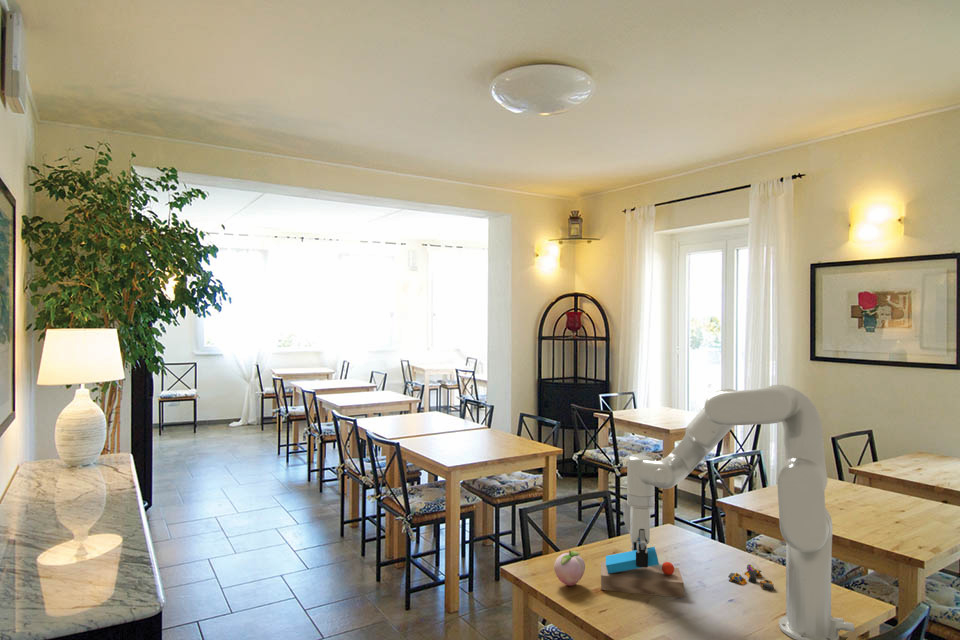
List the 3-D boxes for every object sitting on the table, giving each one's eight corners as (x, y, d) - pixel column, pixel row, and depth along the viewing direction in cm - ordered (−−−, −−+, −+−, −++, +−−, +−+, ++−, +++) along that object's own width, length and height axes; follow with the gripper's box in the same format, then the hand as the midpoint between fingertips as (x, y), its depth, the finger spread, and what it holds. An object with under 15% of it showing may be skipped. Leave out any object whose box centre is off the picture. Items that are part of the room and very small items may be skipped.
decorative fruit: (561, 576, 170) (562, 542, 170) (588, 582, 165) (588, 548, 166) (548, 588, 162) (549, 552, 162) (576, 595, 157) (576, 559, 157)
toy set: (755, 597, 159) (755, 579, 159) (723, 580, 169) (723, 563, 169) (787, 590, 163) (787, 573, 163) (754, 574, 174) (754, 558, 174)
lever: (612, 589, 162) (677, 578, 158) (605, 565, 162) (670, 553, 159) (612, 579, 169) (674, 568, 165) (605, 555, 169) (667, 544, 166)
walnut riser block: (678, 581, 167) (678, 567, 167) (683, 597, 157) (683, 582, 157) (600, 574, 171) (600, 561, 171) (601, 589, 161) (601, 575, 161)
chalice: (617, 559, 182) (617, 502, 182) (634, 556, 185) (634, 500, 185) (632, 568, 175) (632, 509, 176) (649, 565, 178) (649, 506, 179)
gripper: (625, 490, 173) (625, 547, 173) (628, 507, 156) (628, 571, 156) (651, 492, 172) (651, 549, 172) (657, 509, 155) (657, 573, 155)
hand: (640, 559), depth 164 cm, fingers open, 9 cm apart
